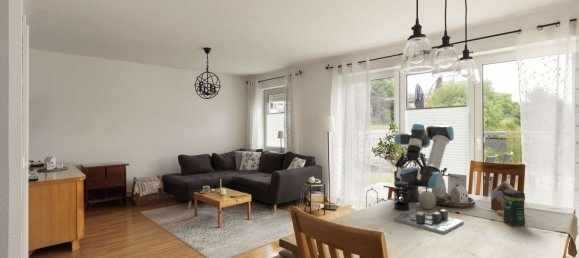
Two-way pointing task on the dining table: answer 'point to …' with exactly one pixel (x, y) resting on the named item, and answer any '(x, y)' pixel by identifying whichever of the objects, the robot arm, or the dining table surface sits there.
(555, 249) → the dining table surface
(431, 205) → the fruit
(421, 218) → the orange and grey switch
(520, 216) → the coffee jar
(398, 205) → the french press
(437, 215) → the breaker middle
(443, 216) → the breaker back
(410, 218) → the panel
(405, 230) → the dining table surface
